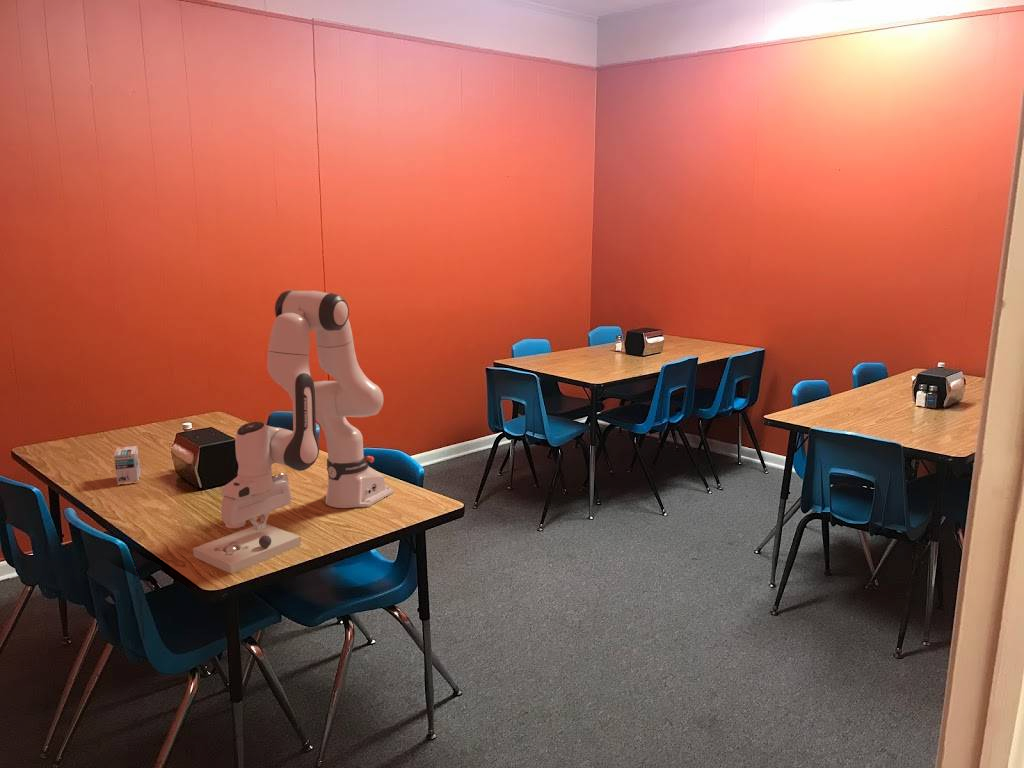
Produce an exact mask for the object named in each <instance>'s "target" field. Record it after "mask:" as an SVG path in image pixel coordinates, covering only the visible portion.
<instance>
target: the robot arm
mask: <svg viewBox="0 0 1024 768" xmlns="http://www.w3.org/2000/svg"><path fill="white" fill-rule="evenodd" d="M274 315H275V319H274V322H273V324H272V329H271V332H270V335H269V336H270V337H269V340H268V348H267V360H266V364H267V372H268V374H269V376H270V377H271V379H272V380H273V381H274V382H275V384H277V385H279V386H280V387H281V388H282V389H284V391H285V392H286V393H287V394H288V396H289V398H290V400H291V402H292V427H293V429H292V430H290V429H287V428H282V427H279V426H278V427H275V426H270V425H267V424H266V423H264V422H263V421H252V422H251V421H250V422H248V423H245V424H243V425H241V426H240V427H239V428H238V429H237V430H236V432H235V433H236V434H235V441H234V445H235V447H234V449H235V458H236V461H237V464H238V466H237V467H238V470H237V476H236V477H235V478H233V479H232V480H231V481H230V482H228V483H226V484H224V486H222V488H221V494H222V495H223V498H222V499H221V504H220V505H221V507H220V508H221V509H220V511H221V519H222V521H223V522H224V524H225V523H226V524H228V525H235V524H238V523H240V522H243V521H246V522H247V521H248V520H249V522H250V523H251V525H252V526H253V529H254V530H255V531H259V530H261V529H264V528H266V524H267V521H268V519H269V516H270V512H272V511H275V510H277V509H281V508H283V507H285V506H286V507H287V506H288V505H290V504H291V502H292V500H293V499H292V493H291V488H290V485H289V476H288V474H284V473H283V472H281V473H278V474H275V475H273V469H272V465H273V464H279V465H283V466H286V467H288V468H290V469H293V470H294V471H298V472H303V471H306V470H308V469H309V468H311V467H312V466H313V465H314V464H315V462H316V461H317V460H318V457H319V454H320V445H319V439H318V435H317V422H318V423H319V424H320V426H321V428H322V430H323V433H324V436H325V440H326V450H327V459H326V470H327V474H328V476H327V477H328V478H327V488H326V489H327V490H326V497H325V500H324V504H326V505H327V506H328V507H332V508H337V509H350V508H367V507H368V508H369V507H370V506H372V505H375V504H376V503H377V502H380V501H381V500H383V499H385V498H386V496H387V497H389V496H390V495H392V494H393V493H394V490H393V488H391V486H388V485H386V480H385V476H384V475H383V474H382V473H380V472H379V471H377V470H376V469H374V468H372V467H370V465H369V463H371V464H372V463H373V462H374V461H375V458H374V457H373V455H372V456H370V455H367V456H366V455H364V438H363V435H362V432H361V431H360V430H359V429H358V428H357V427H356V426H354V425H352V424H351V423H349V421H348V420H347V417H348V418H349V417H350V418H365V417H371V416H376V415H378V414H379V412H380V411H381V410H382V408H383V405H384V400H385V399H384V393H383V391H382V389H381V388H380V386H379V385H377V384H375V382H373V381H371V380H370V378H368V377H367V376H366V374H365V373H364V371H363V370H362V368H361V367H360V364H359V363H358V360H357V359H358V358H357V354H356V351H355V342H354V336H353V330H352V327H351V323H350V319H349V315H350V309H349V305H348V303H347V301H346V299H345V298H344V297H343V296H341V295H339V294H338V293H333V292H323V291H319V290H296V289H292V290H291V289H290V290H286V291H283V292H282V293H280V294H279V296H278V297H277V299H276V300H275V304H274ZM312 330H314V340H315V346H316V353H317V358H318V364H319V367H320V368H321V370H322V371H323V372H325V373H326V374H328V375H329V376H331V377H332V378H334V380H321V381H320V380H318V381H314V380H313V378H312V375H311V370H310V351H311V349H310V348H311V345H310V344H311V337H310V336H311V335H310V334H311V332H312ZM384 497H385V498H384ZM258 516H259V517H260V516H261V517H260V519H259V521H257V520H258Z"/></svg>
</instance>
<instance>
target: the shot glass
mask: <svg viewBox="0 0 1024 768" xmlns="http://www.w3.org/2000/svg"><path fill="white" fill-rule="evenodd" d="M246 522H247V520H246V521H243V522H240V523H238V524H235V525H228V524H226V523H225V522H224V525H225V527H226V528H227V527H228V529H239V528H242V527H244V526H245V525H246V524H247V523H246Z"/></svg>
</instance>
